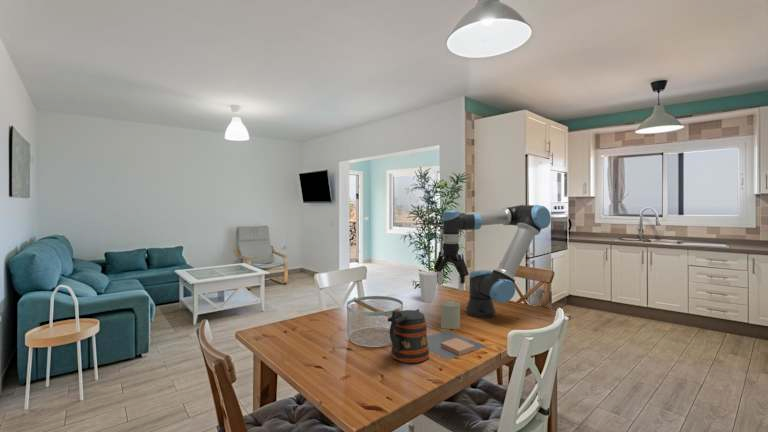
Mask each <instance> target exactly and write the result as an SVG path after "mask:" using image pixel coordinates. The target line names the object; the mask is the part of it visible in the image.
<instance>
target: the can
mask: <svg viewBox="0 0 768 432" xmlns="http://www.w3.org/2000/svg"><path fill="white" fill-rule="evenodd" d="M440 328H441V329H442V330H443V329H448V330H449V329H450V330H451V329H452V330H453V329H454V330H455V329H460V328H461V303H460V302H457V301H453V300H452V301H451V300H446V301H442V302H440Z"/></svg>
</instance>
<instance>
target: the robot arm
mask: <svg viewBox="0 0 768 432" xmlns="http://www.w3.org/2000/svg"><path fill="white" fill-rule="evenodd" d="M551 221H552V215H551V213H550V210H549V209H548V208H547V207H546V206H544V205H538V204H535V205H533V204H532V205H531V204H529V205H528V204H527V205H525V204H520V205H514V206H507V207H503V208H501V209H495V210H484V211H481V210H480V211H473V212H472V211H471V212H470V211H469V212H460V211H459V210H458V209H457V210H456V209H455V210H454V209H453V210H451V209H450V210H448V209H446V210H444V211H443V214H442V242H443V243H442V251H439V252H438V254H437V255H438V256H437V259H436V261H435V264H434V266H433V270H435V271H436V273H437V286H440V285H444V271H443V269H444V267H446V265H447V263H450V264H452V265H453V266H454V267H455V269H456V271H457V273H458V275H459V276H458V291H459V292H461V291H464V290H465V283H466V282H465V281H466V277H468V276H469V278H468V279H469V299H468V301H467V305H466V308H465V313H466V314H467V315H469V316H471V317H475V318H484V319H486V318H492V317H494V316H496V308H495V306H494V302H497V303H498V302H499V303H501V304H502V303H507V302H509V301H510V300H512V298H514V296H515V294H516V285H515V282H516V279H515V275H516V273H517V271H518V269H519V267H520V265H521V263H522V261H523V259H524V257H525V256H526V253H527V251H528V249H529V247H530V246H531V243H532V242H533V239H534V237H535V236H538V235H540V233H541V231H542V230H543V229H546V228H548V227H549V226H550V224H551ZM492 225H503V226H514V227H515V226H516V227H517V228H518V229H517V230H516V232H515V234H514V236H513V238H512V240H511V242H510V244H509V246H508V247H507V250H506V252H505V253H504V255H503V257H502V259H501V262H500V263H499V265H498V267H497V268H495V269H493V270H489V269H488V270H487V269H486V270H485V269H484V270H472V271H470V272H469V271H468V268H467V265H466V262H465V259H464V254H459V251H460V244H459V242H460V231H470V230H471V231H475V230H477V231H478V230H479V229H481V228H482V226H492ZM493 301H494V302H493Z"/></svg>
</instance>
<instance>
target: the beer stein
mask: <svg viewBox="0 0 768 432" xmlns="http://www.w3.org/2000/svg"><path fill="white" fill-rule="evenodd" d="M391 312H392V313H391V317H388V318H387V322H390V325H389V326H390V327H389V337H390V341H391V350H390V351H391V352H390V356H391V357H392V359H394V360H396V361H398V362H401V363H404V364H405V363H406V364H418V363H422V362H425V361H427V360H428V359H429V355H430V353H429V352H430V351H429V348H428V343H427V336H428V334H427V333H428V328H427V320H426V318H425V314H424V313H423V312H421V311H420V309H419V308H417V309H416V310H414V309H413V310H412V309H406V310H405V309H404V310H400V311H399V310H392V311H391Z"/></svg>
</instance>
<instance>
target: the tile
mask: <svg viewBox="0 0 768 432" xmlns="http://www.w3.org/2000/svg"><path fill="white" fill-rule="evenodd" d="M441 347H442V348H444V349H446V350H448V351H450V352H452V353H455V354H457V355H459V356H458V357H460V356H463V355H466V354H468V352H469V353H471V351H472V352H474V351H476V350H475V345H472V344H470V343H468V342H465V341H463V340H460V339H458V338H454V339H451V340H448V341H445V342H442V343H441ZM465 353H466V354H465Z"/></svg>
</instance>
